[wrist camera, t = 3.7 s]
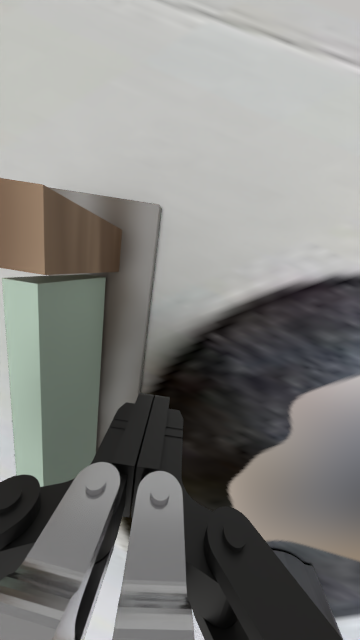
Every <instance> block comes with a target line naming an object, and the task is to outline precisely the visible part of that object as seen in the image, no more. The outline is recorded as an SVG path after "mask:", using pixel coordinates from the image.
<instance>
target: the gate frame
mask: <svg viewBox="0 0 360 640" xmlns="http://www.w3.org/2000/svg"><path fill="white" fill-rule="evenodd" d="M160 218H161V207H160V205H158V204H152V203H145V202H139V201H133V200H126V199H120V198H113V197H107V196H100V195H94V194H87V193H81V192H74V191H68V190H61V189H55V188H49V187H46V186H44V185H42V184H35V183H29V182H22V181H16V180H9V179H3V178H0V268H5V269H11V270H18V271H24V272H30V273H36V274H43V275H49V276H57V275H77V274H89V275H95V276H101V277H106V281H105V299H104V316H103V334H102V352H101V369H100V387H99V405H98V422H97V440H96V453H97V451H98V449H99V447H100V444H101V442H102V440H103V438H104V436H105V434H106V432H107V430H108V428H109V426H110V424H111V422H112V420H113V418H114V416H115V414H116V412H117V410H118V409H119V408H120V407H121V406H122V405H123V404H125V403H126V402H127V403H134V404H135V402H136V400H137V397H138V395H139V393H140V389H141V381H142V372H143V363H144V355H145V346H146V338H147V329H148V321H149V312H150V303H151V295H152V286H153V278H154V269H155V261H156V252H157V243H158V235H159V226H160Z"/></svg>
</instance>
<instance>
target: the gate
mask: <svg viewBox="0 0 360 640" xmlns="http://www.w3.org/2000/svg"><path fill="white" fill-rule="evenodd" d="M105 281H106V277H101V276H95V275H89V274H77V275H57V276H36V277H15V278H2V286H3V300H4V314H5V327H6V341H7V354H8V368H9V382H10V395H11V409H12V422H13V436H14V450H15V463H16V476H17V475H32V476H34V477H35V478H36V479H37V480H38V481H39V484H40V487H43V486H48V485H53V484H59V483H63V482H67V481H70V480H72V479H74V478H75V477H76V476H77V475H78V474H79V473H80V471H82V470H83V469H84V468H86V467H87V466H89V465H90V464H91V462H92V461H93V459H94V457H95V455H96V440H97V422H98V405H99V387H100V369H101V352H102V334H103V316H104V299H105Z"/></svg>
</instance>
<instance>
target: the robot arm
mask: <svg viewBox="0 0 360 640" xmlns="http://www.w3.org/2000/svg"><path fill="white" fill-rule="evenodd" d="M169 400H170V397H164V396H158V395H155V398H154V395H151V394H144V393H139V395H138V397H137V400H136V402H135V404H134V403H127V402H126V403H125V404H123V405H122V406H121V407H120V408H119V409H118V410H117V412H116V414H115V416H114V418H113V420H112V422H111V424H110V426H109V428H108V430H107V432H106V434H105V436H104V438H103V440H102V442H101V444H100V447H99V449H98V451H97V453H96V455H95V457H94V459H93V461H92V462H91V464H90V465H89V466H87V467H86V468H84V469H83V470H82V471H80V473H79V474H78V475H77V476H76V477H75V478H74V479H72V480H70V481H67V482H63V483H59V484H53V485H48V486H43V487H40V484H39V481H38V480H37V479H36V478H35V477H34V476H32V475H17V476H13V477H11V478H8V479H6V480H4V481H2V482H0V640H84V638H85V635H86V632H87V629H88V626H89V623H90V620H91V617H92V613H93V610H94V607H95V604H96V601H97V598H98V595H99V592H100V589H101V586H102V583H103V579H104V576H105V573H106V570H107V567H108V564H109V561H110V558H111V555H112V552H113V548H114V544H115V540H116V537H117V534H118V530H119V526H120V523H121V519H122V516H123V517H129V515H130V511H131V507H132V513H131V518H133V520H132V526H131V532H130V539H129V545H128V551H127V557H126V564H125V570H124V576H123V582H122V588H121V594H120V599H119V604H118V609H117V615H116V621H115V627H114V633H113V639H112V640H194V626H193V616H192V609H193V613H194V616H195V618H196V621H197V623H198V625H199V627H200V630H201V632H202V634H203V637H204V639H205V640H343V638H342V635H341V633H340V630H339V628H338V626H337V623H336V621H335V618H334V616H333V613H332V611H331V609H330V606H329V604H328V601H327V599H326V596H325V594H324V592H323V589H322V587H321V584H320V582H319V579H318V577H317V575H316V572H315V570H314V567H313V566H309V565H305V564H304V563H302V562H301V561H300V560H299V559H298V558H296V557H294V556H292V555H291V554H288V553H285V552H281V551H275V550H272V549H271V548H270V547H269V545H268V544H267V543H266V541H265V540H264V539H263V538H262V536H261V535H260V534H259V533H258V531H257V530H256V529H255V528H254V526H253V525H252V524H251V523H250V521H249V520H248V519H247V518H246V517H245V516H244V515H243V514H242V513H241V512H239V511H238V510H236V509H234V508H231V507H220V508H218V509H216V510H215V511H214V512H212V511H210V510H209V509H207V508H205V507H203V506H202V505H200V504H198V503H197V502H195V501H194V500H193V499H192V498H191V497H190V496H189V495H188V493H187V492H186V490H185V488H184V486H183V483H182V478H181V468H182V441H183V440H182V438H183V418H182V415H181V413H180V411H179V410H174V409H168V407H169ZM132 503H133V504H132Z"/></svg>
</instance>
